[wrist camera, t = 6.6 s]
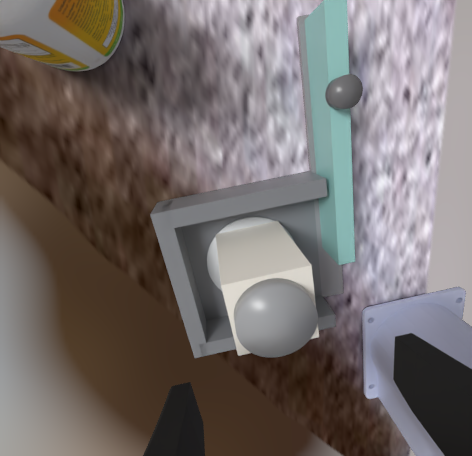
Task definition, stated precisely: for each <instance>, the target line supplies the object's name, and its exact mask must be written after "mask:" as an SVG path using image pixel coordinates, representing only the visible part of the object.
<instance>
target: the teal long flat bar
mask: <svg viewBox="0 0 472 456" xmlns="http://www.w3.org/2000/svg"><path fill="white" fill-rule="evenodd" d="M305 33H306V46H307V58H308V71H309V84H310V97H311V110H312V122H313V135H314V148H315V161H316V174H318V175H320V176H322V177H324V178H326V184H327V196H326V197H321V198H318V199H319V212H320V225H321V238H322V248H323V249H324V250H325V251H326V252H327V253H328V254H329V255H330V256H331V257H332V259H333V260H334V261H335V262H336V263H337V264H338V265H342V264H346V263H351V262H355V243H354V211H353V180H352V149H351V117H350V108H351V107H353V106H355V105H356V104H357V103H358V102H359V100H360V98H361V96H362V91H363V88H362V83H361V81H360V79H359V78H358V77H357V76H355V75H352V74H349V54H348V23H347V0H324V1H323V2H322V3H321V4H320V5H319V6H318V7H317V8H316V9H315V10H314V11H313V12H312V13H311V14H310V15H309V16H308V17H307V18H306V19H305Z"/></svg>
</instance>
